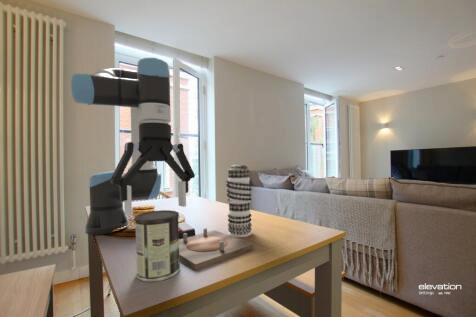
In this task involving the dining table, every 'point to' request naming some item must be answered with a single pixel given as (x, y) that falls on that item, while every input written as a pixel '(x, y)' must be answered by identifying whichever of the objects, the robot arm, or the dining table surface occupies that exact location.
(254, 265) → the dining table surface
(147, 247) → the coffee can
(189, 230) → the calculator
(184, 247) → the pin board
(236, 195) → the decorative candle
